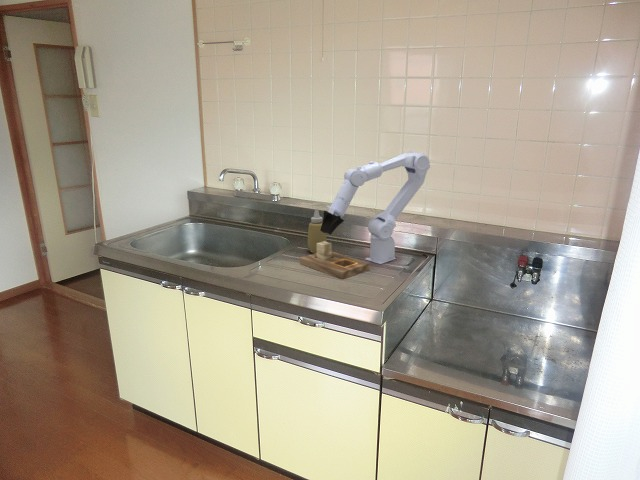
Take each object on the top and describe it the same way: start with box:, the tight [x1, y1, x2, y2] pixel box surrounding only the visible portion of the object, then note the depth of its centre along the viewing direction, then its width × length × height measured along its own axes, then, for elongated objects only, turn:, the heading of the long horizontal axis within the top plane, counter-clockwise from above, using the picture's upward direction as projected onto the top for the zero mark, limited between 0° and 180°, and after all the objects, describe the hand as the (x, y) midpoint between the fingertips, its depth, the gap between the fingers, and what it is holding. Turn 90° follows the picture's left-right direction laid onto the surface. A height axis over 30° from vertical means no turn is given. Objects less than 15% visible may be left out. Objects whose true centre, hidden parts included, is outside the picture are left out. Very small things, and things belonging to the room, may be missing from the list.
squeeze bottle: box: [306, 208, 328, 254], centre depth 192 cm, size 8×8×18 cm
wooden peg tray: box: [299, 251, 371, 280], centre depth 176 cm, size 14×23×3 cm, turn 42°
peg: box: [317, 241, 333, 260], centre depth 179 cm, size 4×4×8 cm
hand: (325, 232), depth 173 cm, fingers open, 7 cm apart
